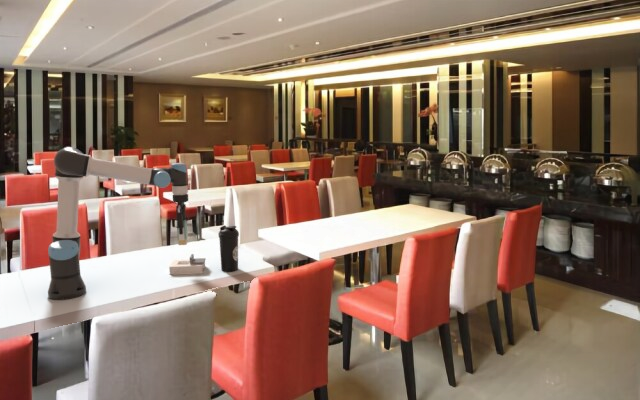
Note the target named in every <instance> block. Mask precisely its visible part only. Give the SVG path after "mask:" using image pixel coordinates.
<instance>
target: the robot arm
mask: <svg viewBox="0 0 640 400" xmlns="http://www.w3.org/2000/svg"><path fill="white" fill-rule="evenodd" d="M53 165H54V178H56V179H57V181H58V185H57V187H58V188H57V210H56V211H57V213H56V231H55V232H54V233H53V234H52V239H51V241H52V243H50V244H49V246H48V249H47V250H48V252H47V254H48V258H49V270H50V271H49V272H50V282H49V287H48V290H47V297H48V298H49V299H51V300H70V299H73V298H79V297H80V296H82V295H84V294H86V292H87V286H86V284H85V282H84V280H83V277H82V276H81V267H80V266H81V264H80V253H81V249H82V247H81V237H82V236H81V234H80V233H79V232H78V221H79V218H78V217H79V200H80V181H81V180H83V179H84V177H85V178H86V177H88V176H95V177H101V178H105V179H110V180H111V179H113V180H119V181H124V182H129V183H137V184H143V185H144V184H145V185H149V186H154V187H155V186H156V187H157V188H160V189H161V188H162V189H164V188H166V187H168V186H169V185H170V184H171V190H172V202H173V203H177V205H176V208H175V210H176V229H177V228H178V233H179V240H185V238H184V226H183V220H187V215H186V214H187V212H186V206H187V205H186V204H185V203H186V202H189V194H188V192H189V189H190V188H189V186H188V171H187V169H188V168H187V164H186V163H184V162H173V163H171V165H170V167H152V168H148V167H143V166H138V165H131V164H127V163H121V162H116V161H112V160H111V161H110V160H105V159H99V158H94V157H92V155H90V154H86V153H85V154H84V153H83V152H82V151H81V150H79V148H76V147H72V146H65V147H63V148H61V149H60V150H58V151H57V153H56V154H55V156H54V158H53Z"/></svg>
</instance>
